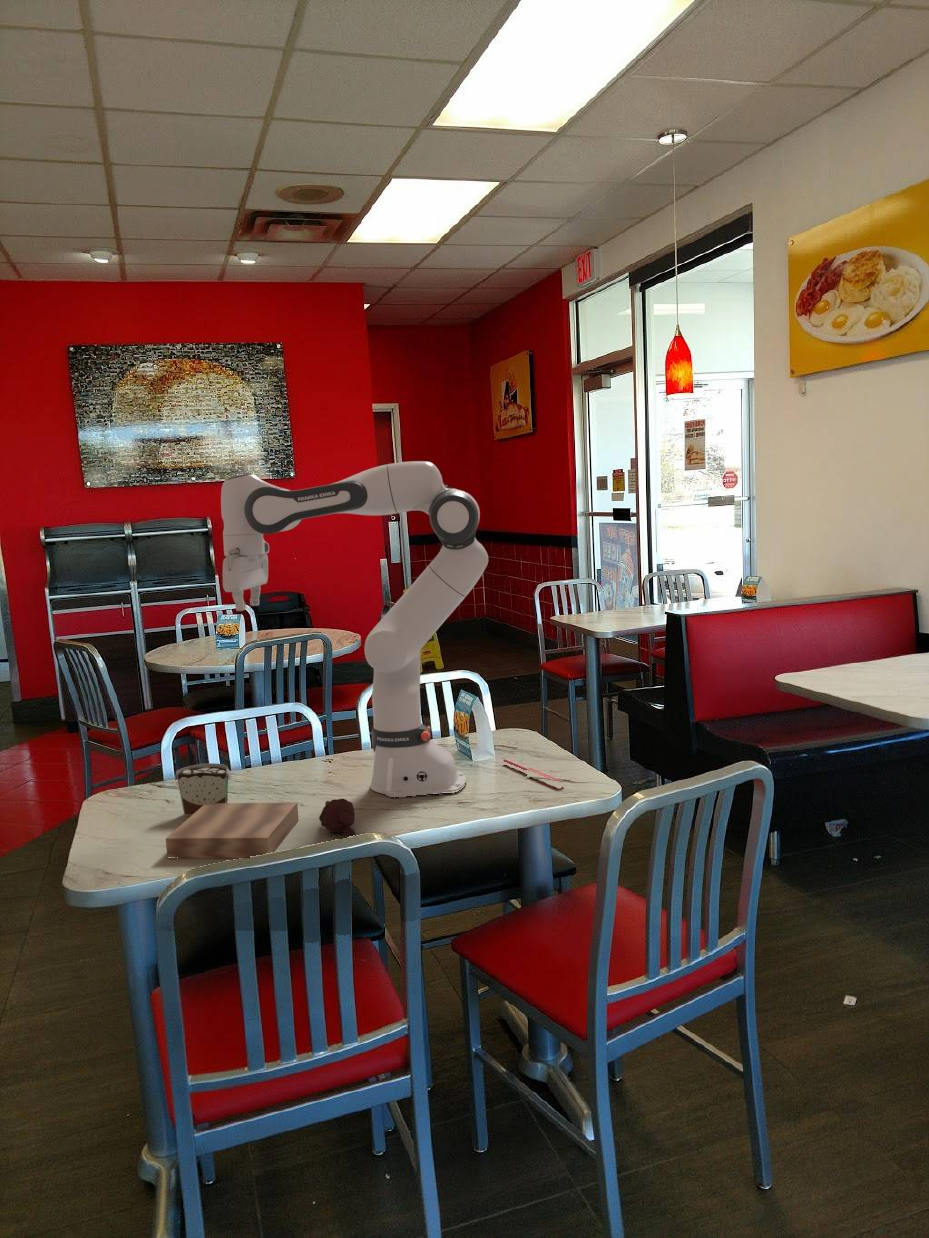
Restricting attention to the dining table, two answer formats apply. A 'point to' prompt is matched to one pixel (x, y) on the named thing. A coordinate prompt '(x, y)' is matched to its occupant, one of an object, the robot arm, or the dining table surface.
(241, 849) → the walnut block
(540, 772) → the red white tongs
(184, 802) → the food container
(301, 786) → the dining table surface
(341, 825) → the icecream
